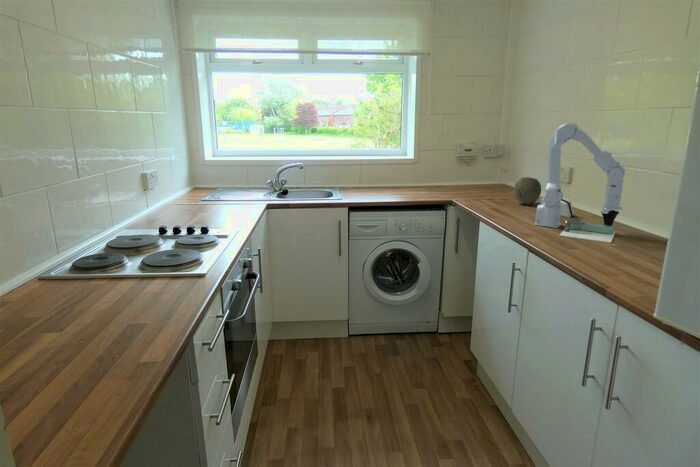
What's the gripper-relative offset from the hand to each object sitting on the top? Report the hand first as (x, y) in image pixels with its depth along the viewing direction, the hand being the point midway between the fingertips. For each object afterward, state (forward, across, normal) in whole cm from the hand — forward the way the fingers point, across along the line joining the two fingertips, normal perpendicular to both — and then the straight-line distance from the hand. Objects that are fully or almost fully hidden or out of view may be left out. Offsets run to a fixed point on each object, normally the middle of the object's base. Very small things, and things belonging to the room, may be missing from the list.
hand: (607, 228), depth 175 cm
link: (+1, -4, +5) cm, 7 cm away
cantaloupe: (+2, +36, +51) cm, 62 cm away
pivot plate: (+2, -9, +4) cm, 10 cm away
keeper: (+1, -10, +9) cm, 14 cm away
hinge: (+2, +23, +30) cm, 37 cm away
